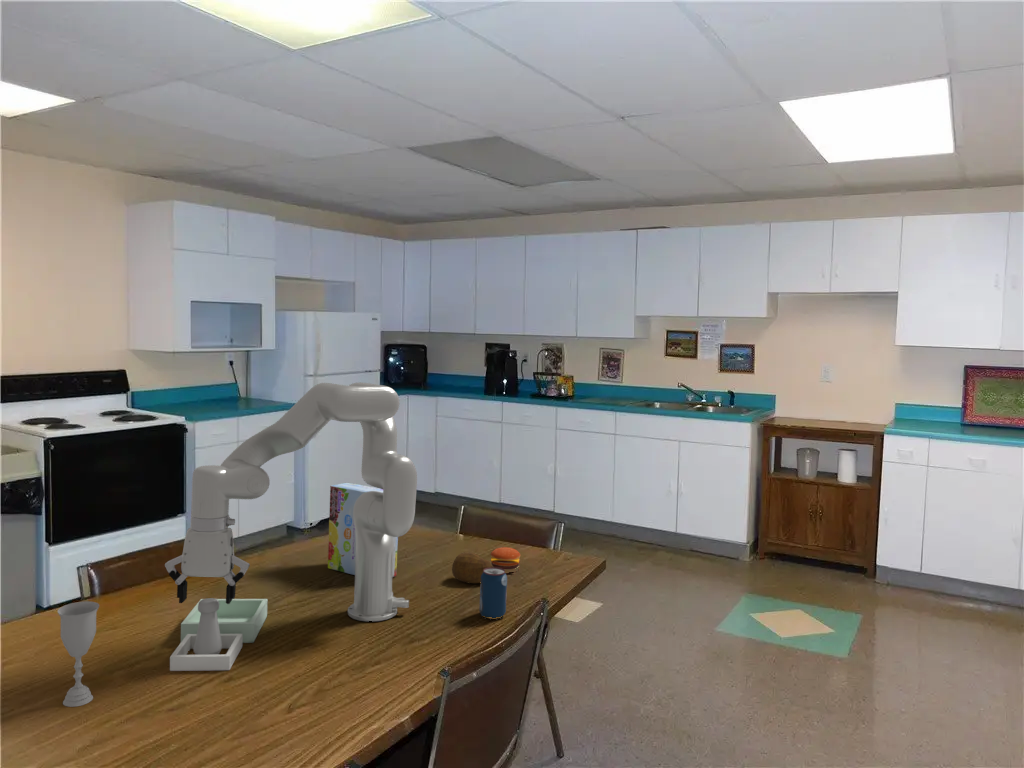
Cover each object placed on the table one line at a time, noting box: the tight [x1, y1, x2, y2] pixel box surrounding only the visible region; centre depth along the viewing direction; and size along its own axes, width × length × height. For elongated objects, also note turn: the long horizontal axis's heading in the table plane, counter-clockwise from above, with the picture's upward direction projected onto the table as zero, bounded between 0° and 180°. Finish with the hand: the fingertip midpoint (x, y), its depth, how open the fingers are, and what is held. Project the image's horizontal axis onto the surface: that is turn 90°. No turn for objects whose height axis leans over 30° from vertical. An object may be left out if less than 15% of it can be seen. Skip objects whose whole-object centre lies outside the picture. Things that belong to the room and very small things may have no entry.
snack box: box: [327, 482, 399, 578], centre depth 225 cm, size 22×9×26 cm, turn 58°
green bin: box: [180, 598, 268, 644], centre depth 179 cm, size 16×16×4 cm
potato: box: [451, 552, 492, 584], centre depth 220 cm, size 8×12×9 cm
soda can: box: [478, 567, 508, 618], centre depth 195 cm, size 7×7×12 cm
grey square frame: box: [169, 634, 244, 672], centre depth 163 cm, size 12×12×3 cm
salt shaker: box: [192, 597, 223, 655], centre depth 163 cm, size 6×6×13 cm
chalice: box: [57, 600, 100, 708], centre depth 143 cm, size 7×7×18 cm
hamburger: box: [489, 546, 522, 570], centre depth 235 cm, size 9×10×7 cm
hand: (206, 601), depth 162 cm, fingers open, 9 cm apart
